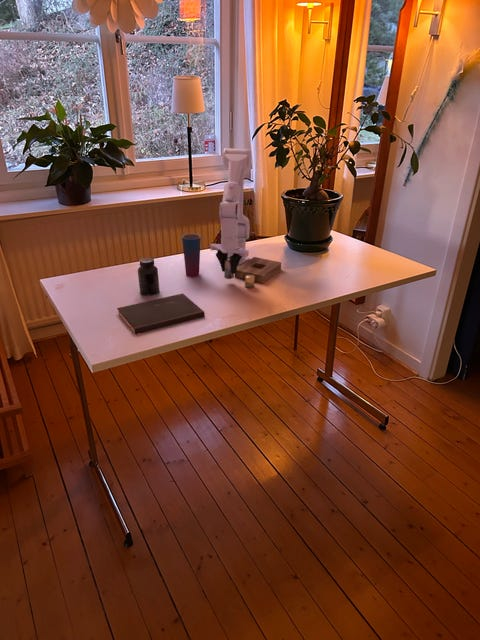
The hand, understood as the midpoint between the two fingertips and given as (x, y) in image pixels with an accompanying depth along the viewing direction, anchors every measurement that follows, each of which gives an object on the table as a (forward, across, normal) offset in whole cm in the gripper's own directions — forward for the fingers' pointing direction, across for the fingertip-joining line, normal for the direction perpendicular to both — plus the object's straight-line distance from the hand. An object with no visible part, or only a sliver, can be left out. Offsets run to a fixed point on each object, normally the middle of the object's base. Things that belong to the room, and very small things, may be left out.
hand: (229, 271), depth 170 cm
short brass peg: (+4, +8, +1) cm, 9 cm away
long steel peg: (+2, 0, 0) cm, 2 cm away
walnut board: (+4, +5, +14) cm, 15 cm away
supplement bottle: (+4, -20, -21) cm, 29 cm away
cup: (+5, -16, 0) cm, 17 cm away
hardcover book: (+5, -6, -33) cm, 34 cm away
